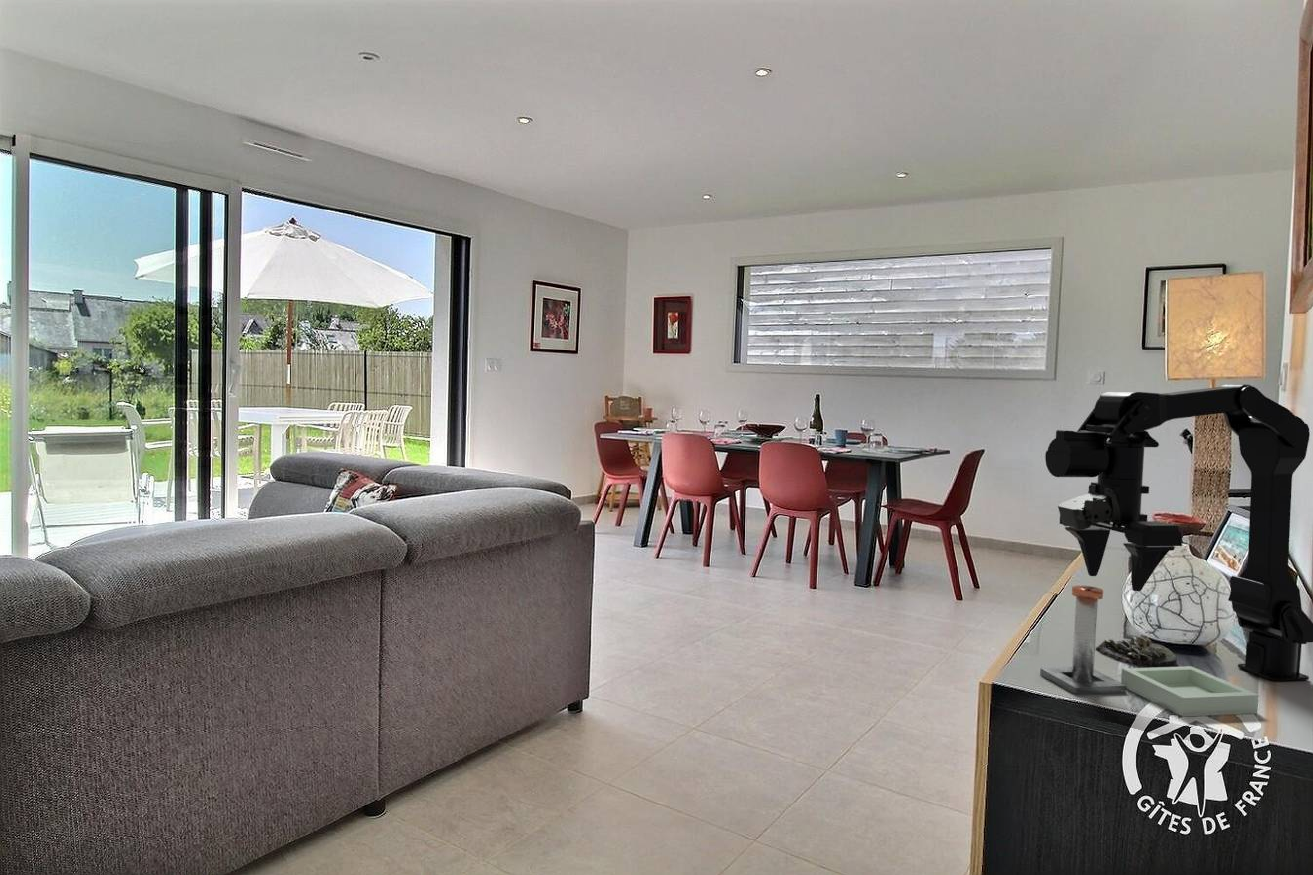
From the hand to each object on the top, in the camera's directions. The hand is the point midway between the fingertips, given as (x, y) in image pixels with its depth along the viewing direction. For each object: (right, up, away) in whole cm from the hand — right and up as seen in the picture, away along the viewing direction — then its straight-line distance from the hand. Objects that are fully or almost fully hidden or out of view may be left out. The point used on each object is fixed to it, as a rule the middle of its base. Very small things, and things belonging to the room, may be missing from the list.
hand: (1113, 583), depth 123 cm
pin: (-5, -15, -1) cm, 15 cm away
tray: (+7, -15, -6) cm, 18 cm away
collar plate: (-5, -14, -1) cm, 15 cm away
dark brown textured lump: (+11, -15, +13) cm, 22 cm away
